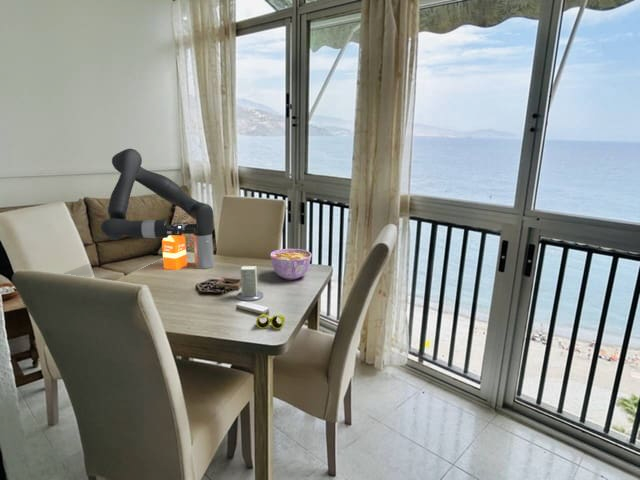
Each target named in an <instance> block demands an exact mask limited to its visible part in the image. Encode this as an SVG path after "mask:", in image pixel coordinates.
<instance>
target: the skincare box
mask: <svg viewBox="0 0 640 480" xmlns="http://www.w3.org/2000/svg"><path fill="white" fill-rule="evenodd" d="M257 269H258V268H257V266H256V265H255V266H254V265H251V266H250V265H249V266H248V265H245V266H244V265H243V266H241V268H240V279H241V286H242V287H241V292H242V296H257V293H258V291H259V290H258V274H257V273H258V271H257Z"/></svg>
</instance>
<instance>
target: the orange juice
mask: <svg viewBox="0 0 640 480" xmlns="http://www.w3.org/2000/svg"><path fill="white" fill-rule="evenodd" d="M161 247H162V258H163V268H164V269H166V270H167V269H168V270H175V271H177V270H179V269H181V268H183V267H186V266H188V264H187V262H188V260H187V247H186V237H185V235H183V234H182V235H181V236H180V235H169V236H168V237H167V238H162V240H161Z"/></svg>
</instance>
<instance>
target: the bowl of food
mask: <svg viewBox="0 0 640 480" xmlns="http://www.w3.org/2000/svg"><path fill="white" fill-rule="evenodd" d="M269 256H270V259H271V264H272V268H273V270H274V272H275V274H276V275H278V276H279V277H281V278H283V279H285V280H298V279H299V278H301V277H303V276H304V275H306V273H307V272H308V270H309V268H310V262H311V260H312V259H311V258H312V256H313V255H312V253H311V252H310V251H308V250H305V249H300V248H283V249H277V250H274V251H272V252H271V253H270V254H269Z"/></svg>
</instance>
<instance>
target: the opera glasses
mask: <svg viewBox="0 0 640 480" xmlns="http://www.w3.org/2000/svg"><path fill="white" fill-rule="evenodd" d="M262 317H265V318H266V321H265V322H261V320H260V319H261V318H262ZM277 318H279V320H280V321H281V322H280V323H279V322H278V319H277ZM255 320H256V321H255V324H256V326H257V328H259V329H267V328H268V327H269V326H270V325H271V327H272V328H274V329H275V330H280V329H282V328H283V327H284V324H285V320H286V319H285V317H284V315H282V314H275V315H273V316H272V317H269V316H268V315H267V314H260V315H259V316H257V318H256V319H255Z"/></svg>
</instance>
